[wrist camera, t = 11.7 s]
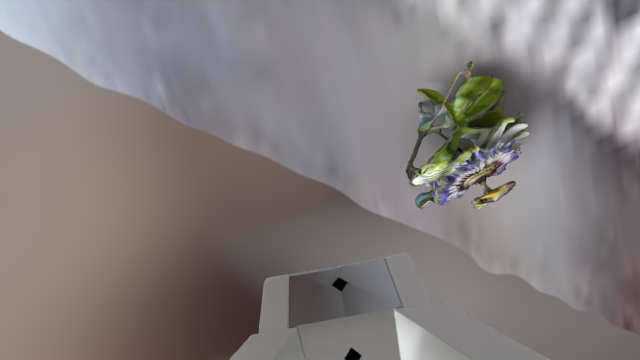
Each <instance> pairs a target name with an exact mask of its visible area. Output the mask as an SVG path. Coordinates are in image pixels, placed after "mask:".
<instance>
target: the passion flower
mask: <svg viewBox="0 0 640 360" xmlns="http://www.w3.org/2000/svg"><path fill="white" fill-rule="evenodd" d="M473 66H474V62H473V61H470V62H469V63H468V64H467V69H466V70H464V71H462V72H460V73H459V74H457V75H456V76H455V78H454V80H453V82H452V83H451V85H450V87H449V89H448V91H447V93H446V95H445V96H443V95H441V94H439V93H438V92H436V91H434V90H430V89H418V90H417V91H418V92H419V93H421V94H423V95H424V96H425V97H427V98H428V99H429V100H430V101H431V102H432V103H433V105H434V107H435V114H434V115H432V114H431V113H425V112H423V110H422V106H421V102H420V103H419V104H418V105H419V116H420V125H419V128H418V133H419V136H418V140H417V143H416V146H415V149H414V152H413V154H412V156H411V159H410V161H409V162H408V166H407V169H406V173H407V174H408V178H409V179H410V180H409V183H410V185H411V186H413V187H415V188H416V187H418V188H422V187H423V186H429V187H431V188H432V190H431V191H430V192H427V193H422V194H420V195H418V196H417V198H416V200H415V202H416V206H417V207H419V208H421V209H422V208H424V206H425V205H426V204H427V203H429V202H430V201H432V202H434V203H436V204H437V205H444V203H447V202H448V201H450V200H451V199H453V198H460V197H461V196H463V194H464V192H465V191H466V190H467V189H469V187H470V185H473V184H476V185H479V186H480V187H481V188H482V189H483V191H484V195H483V196H481V197H478V198H475V199H474V200H473V201H472V202H471V204H472V205H473V207H474V208H478V209H481V208H482V207H483V206H484V205H486V204H488V203H489V202H490V203H491V202H497V200H499V199H500V198H501V197H502V196H504V195H505V194H507V193H508V192H509V191H510V190H512V188H513V187H514V186H515V185H516V182H515V181H511V182H508V183H506V184H504V185H502V186H500V187H498V188H496V189H493V190H492V189H490V188H489V187H488V186H487V185H486V178H487V177H492V176H495V175H499V174H501V173H502V172H503V171H504V170H506V168H505V166H506V165H507V164H508V163H510V162H511V161H514V160H516V159H517V158H518V157H519V156H518V155H519V154H520V153H521V152H520V151H519V150H520V149H521V148H519V146H520V145H521V144H518V143H516V142H517V141H518V140H519V139H520V138H523V137H526V136H528V135H529V134H530V133H529V132H527V131H524V130H522V129H524V128H526V127H528V124H526V122H523V123H519V122H520V120H522V119H523V114H522V113H521V112H519V113H518V115H517V116H516V117H515V118H513V117H504V118H503V109H502V108H501V105H502V104H504V98H507V96H506V95H505V94H502V93H501V92H503V91H504V84H503V80H502V79H498V78H496V77H493V76H492V75H487V76H477V77H470V75H471V74H472V70H473ZM461 73H463V75H464V77H465V78H467V80H466V81H465V82H464V83H463V84H461V86H460V88H459V89H458V91H457V93H456V95H455V96H454V98H453V100H452V102H449V101H448V100H447V98H448V96H449V95H450V92H451V89H452V88H453V86H454V84H455V83H456V81H457V79H458V77H459V75H460V74H461ZM440 114H442V115H445V119H446V121H445V123H444V124H442V125H440V126H432V124H433V123H434V121H435V119H436V118H437V117H438V116H439V115H440ZM474 127H492V128H488V129H485V128H482V129H473V128H474ZM443 128H450V129H451V130H452V131H451V133H450V135H449V137H448V138H446V137H445V136H444V135H443V134H442V133H441V130H442V129H443ZM432 132H435V133H437V134H439V135H440V136H442V137H443V138H444V139H446V140H447V141H446V143H445V144H444V145H443V146H442V147H441V148H440V149H439V150H438V151H437V152H436V153H435V155H433V156H432V157H431V158H430V159H429V161H428V163H427V164H425V165H422V166H421V167H420V168H415V167H413V161H414V159H415V157H416V155H417V152H418V149H419V146H420V144H421V140H422V139H423V137H424V136H426V135H428V134H430V133H432ZM462 138H467V139H469V140H471V141H472V142H473V143H474V145H470V146H468V147H466V148H464V150H463V151H462V150H461V149H460V148H459V144H460V139H462ZM457 150H458V151H459V152H460V154H459V156H458V158H457V159H456V160H454V161H453V159H454V157H455V156H456V152H457Z"/></svg>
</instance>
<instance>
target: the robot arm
mask: <svg viewBox="0 0 640 360" xmlns="http://www.w3.org/2000/svg"><path fill="white" fill-rule="evenodd" d="M230 360H550V359H548V358H546V357H544V356H543V355H541V354H539V353H537V352H535V351H533V350H531V349H529V348H528V347H526V346H524V345H522V344H520V343H518V342H516V341H515V340H513V339H511V338H509V337H507V336H505V335H503V334H502V333H500V332H498V331H496V330H494V329H492V328H490V327H488V326H487V325H485V324H483V323H481V322H479V321H477V320H475V319H474V318H472V317H470V316H468V315H466V314H464V313H462V312H460V311H458V310H457V309H455V308H453V307H451V306H449V305H448V304H446V303H444V302H442V301H436V302H433V301H432V299H431V297H430V295H429V293H428V291H427V289H426V287H425V285H424V283H423V281H422V278H421V276H420V274H419V272H418V270H417V268H416V266H415V264H414V262H413V260H412V258H411V256H410V254H409V253H406V252H405V253H401V254H396V255H392V256H387V257H384V258H381V259H376V260H370V261H365V262H360V263H355V264H350V265H345V266H340V267H330V268H324V269H318V270H312V271H306V272H300V273H293V274H291V275H289V274H287V275H282V276H276V277H271V278H267V279H266V280H265V282H264V289H263V298H262V308H261V316H260V325H259V334H255V335H251V336H250V337H249V338H248V339H247V341H246V342H245V343H244V344H243V345H242V346H241V347H240V349H239V350H238V351H237V352H236V353H235V354H234V355H233V356H232V357H231V359H230Z"/></svg>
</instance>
